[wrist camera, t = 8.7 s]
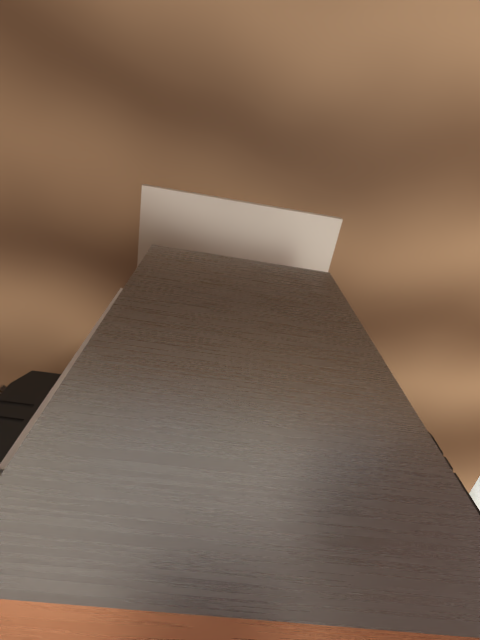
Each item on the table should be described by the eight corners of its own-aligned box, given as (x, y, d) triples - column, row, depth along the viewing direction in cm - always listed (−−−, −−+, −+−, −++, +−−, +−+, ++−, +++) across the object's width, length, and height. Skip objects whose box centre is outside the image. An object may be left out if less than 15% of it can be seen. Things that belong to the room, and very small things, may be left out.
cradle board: (-218, -176, 11) (-296, -228, 9) (698, 34, 13) (763, 22, 12) (-74, 436, 21) (-100, 463, 19) (441, 494, 23) (457, 522, 21)
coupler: (150, 241, 11) (-235, 806, 2) (331, 271, 11) (697, 843, 2) (139, 392, 13) (-63, 976, 4) (291, 412, 14) (400, 977, 5)
